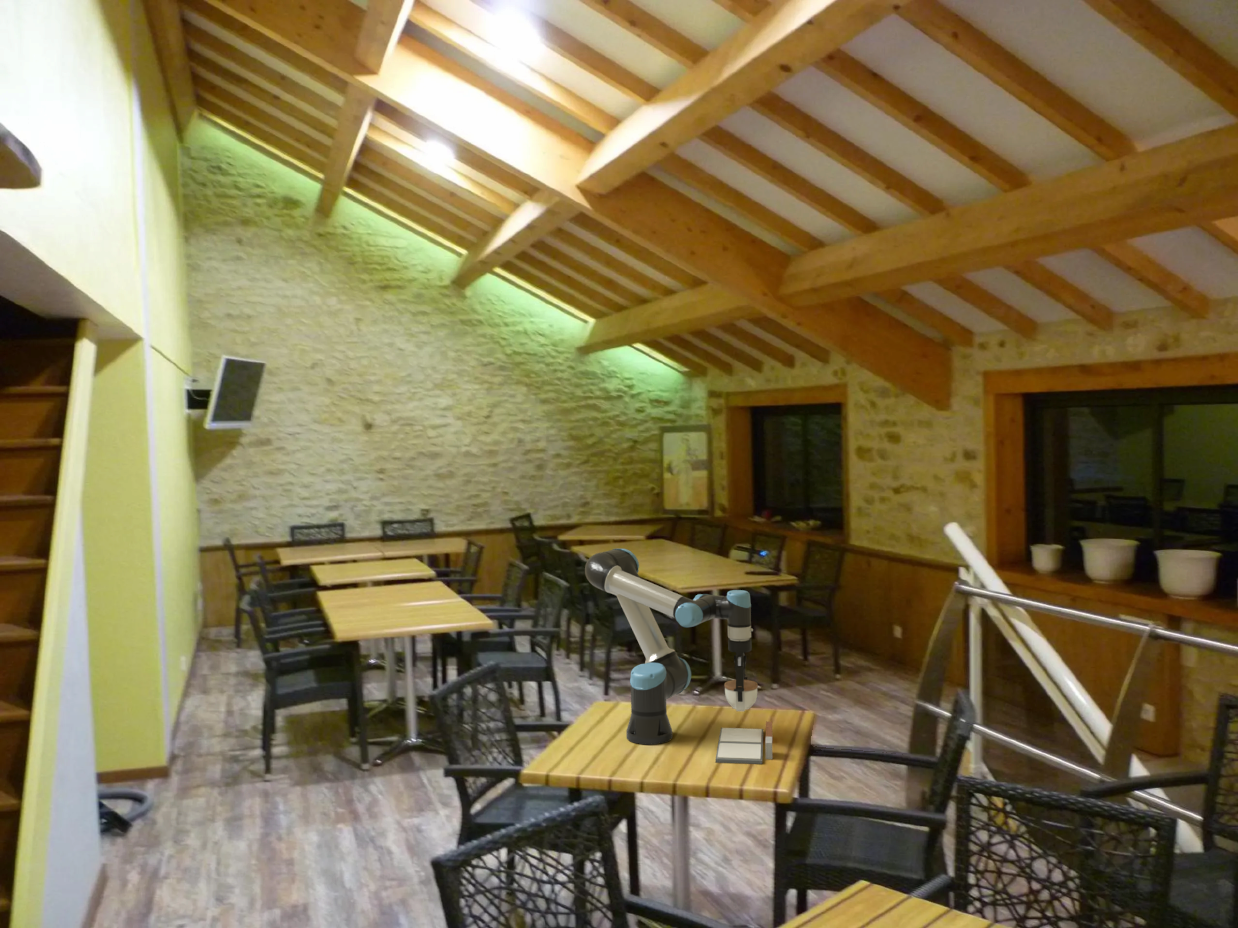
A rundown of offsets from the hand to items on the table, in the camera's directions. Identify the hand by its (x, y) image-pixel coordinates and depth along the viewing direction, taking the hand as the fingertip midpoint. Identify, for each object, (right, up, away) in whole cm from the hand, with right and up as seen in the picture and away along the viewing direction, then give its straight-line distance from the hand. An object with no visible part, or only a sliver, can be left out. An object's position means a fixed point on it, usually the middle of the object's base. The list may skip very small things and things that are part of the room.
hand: (741, 705), depth 310 cm
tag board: (0, -11, -7) cm, 13 cm away
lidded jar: (0, -1, 0) cm, 1 cm away
